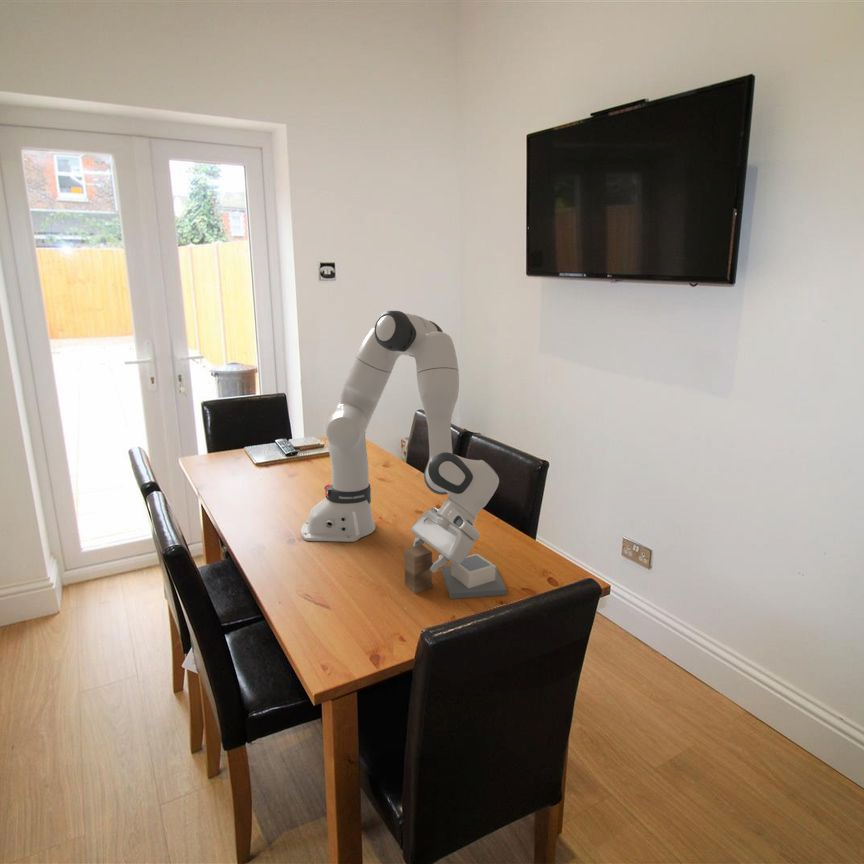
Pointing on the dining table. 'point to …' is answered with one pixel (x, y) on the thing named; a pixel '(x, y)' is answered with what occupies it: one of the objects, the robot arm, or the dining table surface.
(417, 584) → the walnut column
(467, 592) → the base board
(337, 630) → the dining table surface
